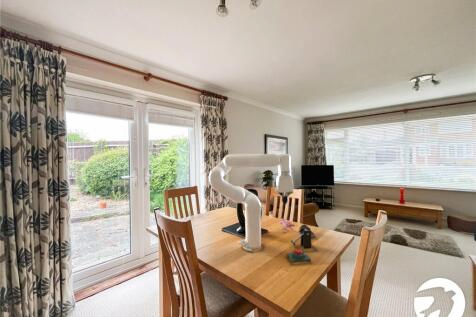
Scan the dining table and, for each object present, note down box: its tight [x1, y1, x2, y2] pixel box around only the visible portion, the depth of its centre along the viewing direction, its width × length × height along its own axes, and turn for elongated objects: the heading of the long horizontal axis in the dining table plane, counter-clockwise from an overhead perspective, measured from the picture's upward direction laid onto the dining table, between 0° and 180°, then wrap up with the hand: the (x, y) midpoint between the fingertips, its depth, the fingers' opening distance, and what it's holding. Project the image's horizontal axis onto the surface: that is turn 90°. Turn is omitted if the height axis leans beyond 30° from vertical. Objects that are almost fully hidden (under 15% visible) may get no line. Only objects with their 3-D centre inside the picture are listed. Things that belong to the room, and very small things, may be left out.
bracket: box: [300, 228, 312, 250], centre depth 122 cm, size 10×8×12 cm
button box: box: [286, 249, 312, 263], centre depth 109 cm, size 10×8×4 cm
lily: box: [279, 217, 297, 231], centre depth 150 cm, size 12×12×10 cm
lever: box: [290, 229, 307, 246], centre depth 121 cm, size 12×5×2 cm
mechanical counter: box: [298, 224, 317, 239], centre depth 140 cm, size 7×13×10 cm
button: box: [294, 248, 303, 255], centre depth 109 cm, size 4×4×2 cm
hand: (284, 203), depth 125 cm, fingers closed
